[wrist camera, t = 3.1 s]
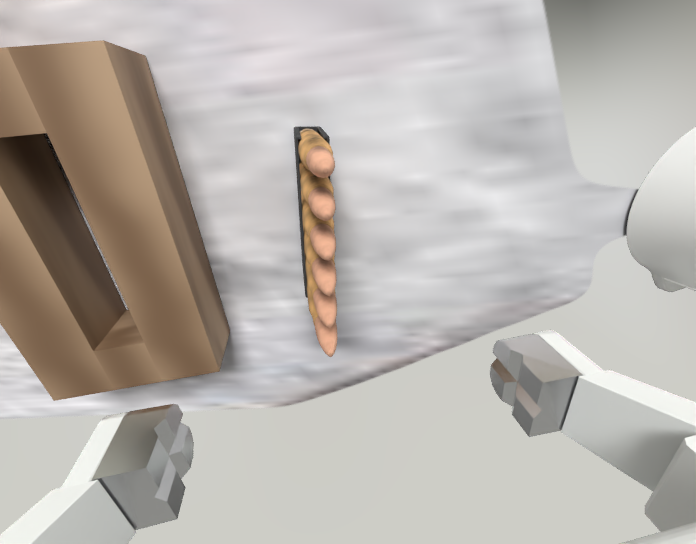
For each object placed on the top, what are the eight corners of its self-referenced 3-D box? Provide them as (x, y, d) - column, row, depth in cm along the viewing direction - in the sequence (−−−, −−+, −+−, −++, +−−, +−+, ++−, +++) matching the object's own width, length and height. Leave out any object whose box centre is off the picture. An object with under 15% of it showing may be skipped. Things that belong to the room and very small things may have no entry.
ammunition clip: (325, 267, 27) (349, 368, 17) (302, 268, 27) (312, 372, 17) (321, 126, 23) (350, 143, 12) (293, 126, 22) (299, 143, 12)
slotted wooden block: (145, 55, 19) (103, 40, 15) (230, 330, 29) (219, 371, 24) (-68, 72, 18) (-181, 60, 14) (91, 353, 27) (53, 400, 23)
